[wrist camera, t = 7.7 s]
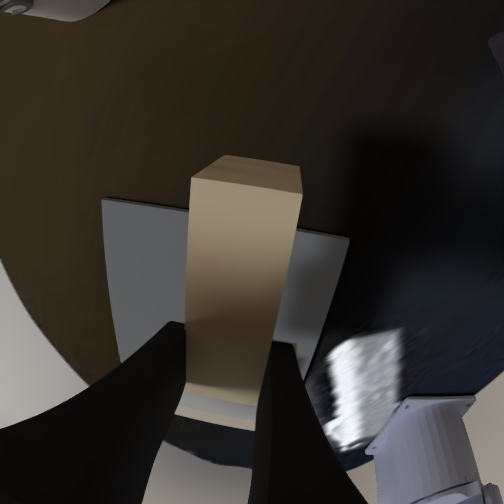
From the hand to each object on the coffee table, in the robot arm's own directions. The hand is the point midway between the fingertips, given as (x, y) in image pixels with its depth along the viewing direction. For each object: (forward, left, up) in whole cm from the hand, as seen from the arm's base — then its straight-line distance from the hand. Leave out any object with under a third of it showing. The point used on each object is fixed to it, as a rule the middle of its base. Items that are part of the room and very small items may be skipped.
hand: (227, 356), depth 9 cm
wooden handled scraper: (-1, 0, -3) cm, 3 cm away
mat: (-8, +2, -9) cm, 12 cm away
